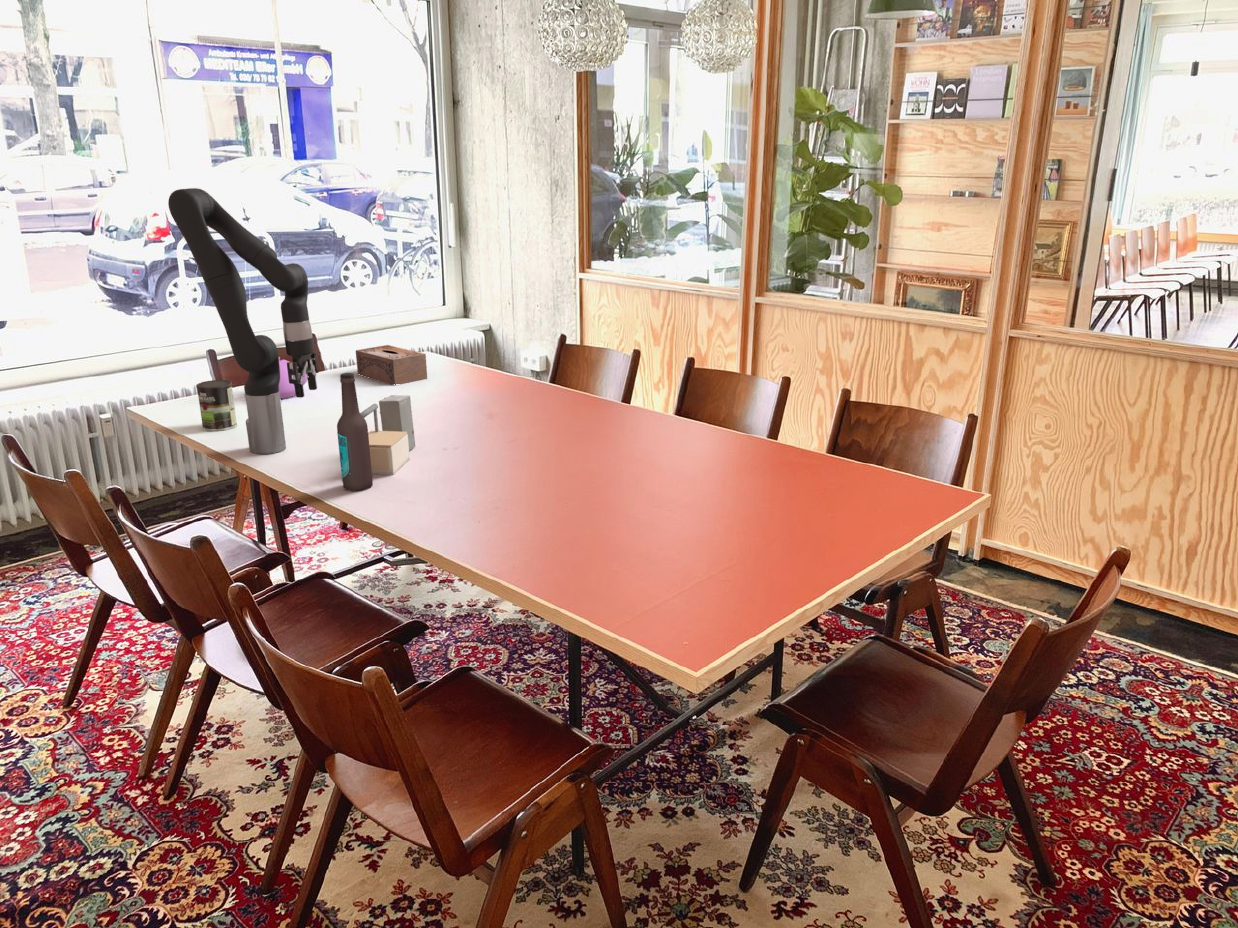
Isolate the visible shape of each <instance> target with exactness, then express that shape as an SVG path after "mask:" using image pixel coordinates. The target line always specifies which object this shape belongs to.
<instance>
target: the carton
mask: <svg viewBox="0 0 1238 928" xmlns="http://www.w3.org/2000/svg"><path fill="white" fill-rule="evenodd" d="M369 447H370V458H371V468H372V475H385V474H392V475H393V476H394V475H395V474H396V473H397V472H398V471H400V470H401V468H403V467H404V466H405V465H406V464H407V463H408V462H409V461H410V460H411V459H410V451H409V444H408V434H406V435H405V436H403V437H402V438H401V439H400V440H399V441H398V442H396V443H395V444H394V445H393V446H392V447H377V446H369ZM392 475H391V476H392Z"/></svg>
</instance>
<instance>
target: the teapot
mask: <svg viewBox="0 0 1238 928" xmlns="http://www.w3.org/2000/svg"><path fill="white" fill-rule="evenodd" d="M287 362H290V361H289V360H286V359H281V357H280V356H279V366H280V382H279V394H280V399H289V398H291V397H294V396H295V397H296V394H295V387H294V384H290V383H289V378H288V370H287ZM292 379H293V376H292ZM306 383H308V379H307V375H306V374H305V377H303V382H302V384H303V387H304V386H305V384H306ZM288 397H289V398H288Z"/></svg>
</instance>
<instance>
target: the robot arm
mask: <svg viewBox="0 0 1238 928" xmlns="http://www.w3.org/2000/svg"><path fill="white" fill-rule="evenodd" d="M168 197H169V198H168V204H167V205H168V209H169V212H170V215H171V217H172V218H173V219H172V220H173V221H174V223H175V224H176V226H177V227H178V229H179V231H180V233H181V235H182V237H183V239H184V241H185V242H186V244H187V246H188V248H189V250H190V252H191V254H192V257H193V259H194V261H195V263H196V265H197V268H198V270H199V272H200V275H201V278H202V279H203V282H204V284H205V286H206V288H207V291H208V293H209V295H210V298H211V300H212V301H213V304H214V306H215V308H216V311H217V313H218V315H219V318H220V320H221V322H222V324H223V328H224V330H225V333H226V335H227V338H228V343H229V345H230V348H231V351H232V353H233V356H234V359H235V361H236V363H237V364H238V366H239V367H240V368H241V369H242V370H244V371H246V372H248V375H247V379H246V381H245V383H244V385H243V387H244V389H243V390H244V395H245V404H246V410H247V417H248V418H247V419H246V420H245V426H246V434H247V441H248V447H249V448H248V449H249V452H250V453H255V454H258V455H259V454H260V455H264V454H265V455H266V454H267V455H268V454H275V453H280V452H283V451H285V450H286V449H287V445H286V437H285V435H286V434H285V427H284V421H283V412H282V402H281V398H280V394H279V382H280V366H279V361H280V360H279V357H280V356H279V351H278V347H277V344H276V343H275V342H274V340H273V339H272V338H270V337H269V336H268V335H264V334H257V335H256V334H255V332H254V331H253V328H252V326H251V323H250V321H249V317H248V307H247V305H248V303H247V292H246V288H245V284H244V282H243V280H242V277H241V276H240V273H239V271H238V269H237V266H236V264H235V263H234V261H233V260H232V259H231V258H230V257H229V256H228V254H227V253H226V252H225V251H224V250H223V249H222V248H221V247H220V245H219V244H218V243H217V242H216V240H215V239H214V237H213V235H212V234H211V232H210V230H209V229H212V230H214V231H215V232H216V233H218V234H219V235H220V236H222V238H223V239H224V240H225V241H226V242H227V244H228V245H229V247H230V248H231V249H232V251H233V252H235V254H236V255H237V256H238V257H239V258H241V259H242V260H243V261H245V262H246V263H247V264H249V265H250V266H252V267H253V268H255V269H256V270H258V271H259V273H260V274H261V275H262V276H263V277H264V279H265V280H266V281H267V282H268V283H269V284H270V285H271V286H272V287H274V288H276V290H279V291H281V292H284V299H283V301H282V302H281V303H280V313H281V319H282V332H283V333H282V334H283V338H284V344H285V351H286V355H287V356H291V358H292V360H291V361H289V362H287V370H288V378H289V383H290V384H294V387H295V394H296V395H295V397H296V398H298V399H299V398H304V397H305V391H304V386H303V384H302V382H303V377H305V374H306V375H307V384H308V385H307V386H308V389H309V391H315V390H317V389H318V385H317V384H318V383H317V375H318V374H319V372H320V371H319V370H320V369H319V363H318V359H317V358H318V357H317V353H316V352H315V350H316V349H315V344H314V338H313V330H312V326H311V322H310V317H309V310H308V295H309V280H308V275H307V272H306V270H305V268H304V267H303V266H302V265H300V264H299V263H295V262H294V263H293V262H291V263H288V264H287V263H286V264H284V263H283V262H282V261H280V259H278V254H277V252H276V251H275V250H274V249H273V248H272V247H271V246H269V245H268V244H267V243H265V241H262V239H261V238H258V237H257V236H256V235H255V234H253V233H252V232H251V231H249V230H248V229H246V228H245V227H244V226H243V225H242V224H241V223H240V222H238V220H236V219H235V218H234V217H233V216H232V215H231V214H230V213H229V212H228V211H227V210H225V208H223V206H222V205H220V204H219V203H218V201H217V200H216V199H215V198H214V197H213V196H212V195H210V194H209V193H208V192H207V191H206V190H203V188H199V187H190V188H180V189H176V190H174V191H172V192H171V193H170V195H169V196H168ZM292 376H293V379H292Z"/></svg>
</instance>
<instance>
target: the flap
mask: <svg viewBox="0 0 1238 928" xmlns="http://www.w3.org/2000/svg"><path fill="white" fill-rule="evenodd" d="M378 408H379V404H377V403H373V404H371V405H369V407H367V408H366V409H364V410H363V411H360V414H361V415H362V416H363V417H364V419H365V418H366V417H367V416H368V415H370V414H372V413H373V420H374V421H373V422H374V430H370V431H368V437H369V446H377V447H392V446H393V445H394V444H395V443H396V442H398V441H399V440H400V439H401V438H402V437H403V436H405V435H406V434H407V432H398V431H382V430H380V429H379V422H378V419H379V418H378Z"/></svg>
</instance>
